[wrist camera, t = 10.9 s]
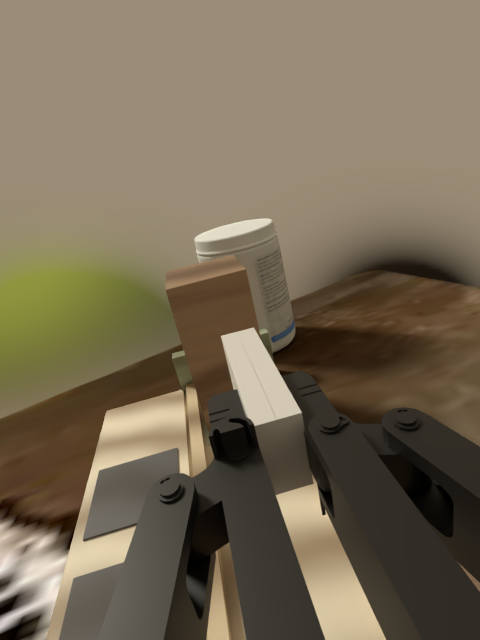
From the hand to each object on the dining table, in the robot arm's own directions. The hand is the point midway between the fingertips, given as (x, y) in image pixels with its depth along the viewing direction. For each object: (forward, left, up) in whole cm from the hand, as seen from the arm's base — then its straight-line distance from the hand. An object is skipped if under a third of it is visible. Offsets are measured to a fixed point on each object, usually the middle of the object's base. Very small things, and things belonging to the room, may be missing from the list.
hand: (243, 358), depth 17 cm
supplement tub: (-20, +22, -13) cm, 32 cm away
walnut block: (-12, +9, -12) cm, 19 cm away
